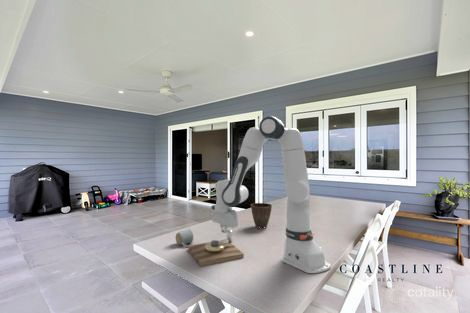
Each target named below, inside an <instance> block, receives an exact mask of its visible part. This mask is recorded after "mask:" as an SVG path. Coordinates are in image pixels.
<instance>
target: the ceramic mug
mask: <svg viewBox="0 0 470 313" xmlns="http://www.w3.org/2000/svg"><path fill="white" fill-rule="evenodd" d="M175 242H176V244H177V245H178V246H183V247H184V248H189V246H190V245H194V244H193V243H194V233H193V231H192V230H191V228H187V229H184V230H180V231H179V232H177V233H176V234H175Z"/></svg>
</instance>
